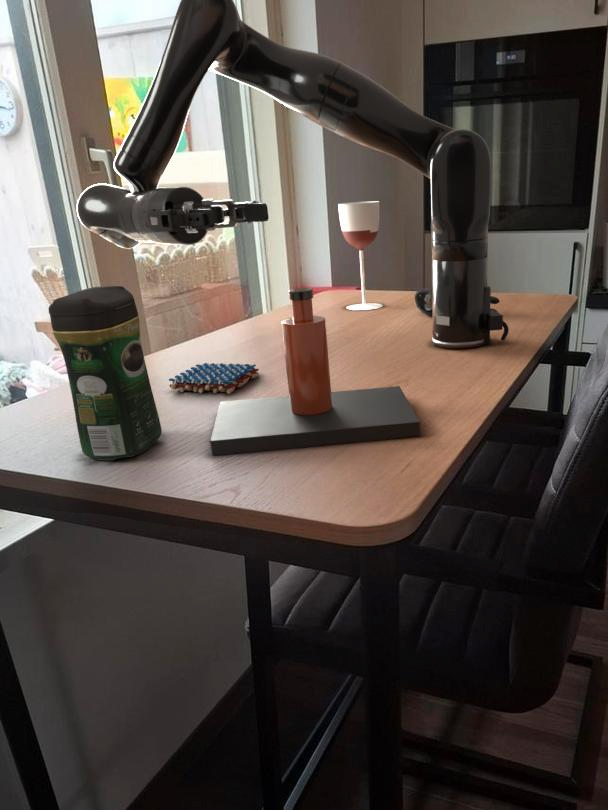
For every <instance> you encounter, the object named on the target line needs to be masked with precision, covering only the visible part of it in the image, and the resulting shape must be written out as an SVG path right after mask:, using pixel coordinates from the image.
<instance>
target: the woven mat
mask: <svg viewBox="0 0 608 810" xmlns="http://www.w3.org/2000/svg"><path fill="white" fill-rule="evenodd" d="M256 366H257V365H256V364H255V363H254V364H249V363H245V364H244V363H231V362H230V363H228V364H227V363H223V362H220V363H214V362H212V363H209V362H204V363H202V364H199V363H197V364H196V365H195V366H191V367H190V369H186V370H185V372H180V373H179V375H178V374H177V375H174V377H173V378H172V377H171V378H168V381H169V382H171V383H170V384H169V388H170V389H171V390H179V392H180V393H183V392H184V391H188V392H189V391H190V392H191V391H192V392H194V393H196V392H198V393H200V394H202V393H204V392H205V391H207V392H209V391H212V392H213V394H216V393H219V392H221V393H226V394H228V395H231V394H232V392H234V391H235V389H237V388H241V387H242V386H244V385H245V384H247V383H248V381H249V380H250V379H252V380H253V379H255V378H256V377H258V376H259V374H260V372H259V368H256Z"/></svg>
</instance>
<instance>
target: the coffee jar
mask: <svg viewBox="0 0 608 810" xmlns="http://www.w3.org/2000/svg"><path fill="white" fill-rule="evenodd" d="M48 314H49V318H50V325H51V329H52V334H53V337H54V339H55V340H56V342H57V344H58V346H59V348H60V351H61V353H62V356H63V360H64V363H65V368H66V373H67V378H68V383H69V387H70V388H69V389H70V392H71V393H70V394H71V398H72V403H73V409H74V416H75V422H76V429H77V433H78V438H79V443H80V447H81V452H82V454H83V455H85V456H86V457H89V458H92V459H95V460H98V461H116V460H117V459H122V458H131V457H136V456H138V455H139V454H141V453H143V452H144V451H146V450H147V449H148V448H150V447H151V446H153V444H155V443H156V442H157V441H158V440H159V439H160V437H161V436H162V432H163V429H162V425H161V420H160V416H159V411H158V409H157V408H158V407H157V405H156V401H155V397H154V393H153V389H152V385H151V381H150V377H149V372H148V369H147V363H146V360H145V356H144V350H143V345H142V339H141V328H140V327H141V326H140V316H139V312H138V307H137V304H136V302H135V297H134V295H133V293H131V292H130V291H129V290H128V289H127V288H125V287H124V286H122V285H105V286H104V285H103V286H101V285H100V286H92V287H88V288H85V289H81V290H78V291H76V292H71V293H70V294H67V295H64V296H61V297H58V298H55V299H54V300H53V301H52V303H51V304H50V305H49V306H48Z"/></svg>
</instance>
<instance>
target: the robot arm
mask: <svg viewBox="0 0 608 810" xmlns="http://www.w3.org/2000/svg"><path fill="white" fill-rule="evenodd" d="M157 67H158V68H157V69H156V72H155V75H154V77H153V80H152V82H151V85H150V86H149V89H148V92H147V94H146V96H145V98H144V101H143V103H142V105H141V107H140V109H139V111H138V112H137V115H136V117H135V119H134V121H133V123H132V125H131V126H130V129H129V130H128V133H127V134H126V136H125V138H124V140H123V142H122V144H121V146H120V148H119V150H118V152H117V154H116V156H115V158H114V161H113V169H114V171H115V172H116V174H118V175H119V176H120V177H121V179H123V180H124V181H125V182H126V183H127V185H128V186H129V189H128V188H124V187H121V186H117V185H113V184H109V183H108V184H107V183H97V184H93V185H91V186H89V187H87V188H86V189H85V190H83V192H82V193H81V194H80V196H79V198H78V199H77V203H76V213H77V217H78V219H79V221H80V223H81V224H82V225H83V226H84V227H85V228H86V229H88V230H89V231H91V232H92V233H94V234H96V235H98V236H100V237H102V238H103V239H105V240H107V241H108V242H110V243H112V244H114V245H116V246H117V247H120V248H122V249H125V250H131V249H134V248H136V247H137V246H138V245H140V244H141V243H156V244H160V245H173V246H174V245H175V246H192V245H195V244H198V243H200V242H201V241H202V240H203V239H204V238H205V237H206V235H207V234H208V232H209V231H210V232H211V231H216V230H218V229H225V228H227V229H228V228H235V227H237V226H238V224H242V223H244V224H245V223H247V224H251V223H260V222H261V223H263V222H264V223H265V222H268V221H269V217H270V216H269V209H268V205H267V204H266V202H260V201H257V200H252V201H235V200H234V199H223V200H215V199H214V198H210V199H209V198H207V199H205V198H204V197H203V196H202V195H201V194H200V193H199V192H198V191H197V190H196V189H194V188H191V187H187V186H173V187H158V186H159V184H160V182H161V180H162V178H163V177H164V175H165V173H166V171H167V169H168V167H169V165H170V163H171V161H172V159H173V157H174V155H175V153H176V151H177V148H178V147H179V143H180V141H181V138H182V136H183V132H184V129H185V125H186V122H187V118H188V115H189V113H190V110H191V106H192V103H193V101H194V99H195V96H196V93H197V91H198V89H199V87H200V85H201V83H202V82H203V80H204V78H205V76H206V75H207V73H208V71H209V72H213V73H215V74H218V75H221V76H224V77H226V78H227V79H228V78H229V79H231V80H234V81H236V82H239V83H241V84H243V85H247V86H249V87H251V88H254V89H256V90H258V91H260V92H262V93H264V94H265V95H267V96H269V97H271V98H273V99H274V100H276V101H277V102H279V103H280V104H283V105H284V106H285V107H287V108H288V109H290V110H292V111H294V112H295V113H297V114H299V115H301V116H303V117H304V118H306V119H308V120H309V121H311V122H313V123H314V124H316V125H319V126H320V127H322V128H323V129H325V130H328V131H330V132H331V133H334V134H335V135H338V136H340V137H342V138H344V139H347V140H349V141H351V142H353V143H356V144H359V145H361V146H363V147H366V148H368V149H371V150H374V151H377V152H380V153H384V154H386V155H389V156H391V157H393V158H396V159H397V160H399V161H400V162H402V163H405V164H407V165H408V166H410V167H411V168H413V169H414V170H415V171H417V172H419V173H420V174H422V175H423V176H425V177H426V178H428V179H429V180H430V233H431V234H430V239H431V241H430V243H431V245H430V247H431V249H430V250H431V289H432V314H433V315H432V338H431V340H432V341H431V342H432V345H434V346H435V347H439V348H443V349H470V348H476V347H480V346H483V345H490V343H491V332H493V331H502V330H503V333H502V335H501V337H500V340H501V341H506V339H507V337H508V335H509V325H508V323H507V322H505V320H503V319H504V315H503V314H501V313H500V312H498V310H496V309H495V310H496V311H495V310H490V308H491V303H490V298H491V296H492V295H491V294H492V293H491V292H492V291H491V286H490V285H488V258H489V257H488V246H489V244H488V242H489V238H488V237H489V223H490V217H491V188H492V186H491V185H492V158H491V157H492V156H491V152H490V149H489V146H488V144H487V141H486V140H485V139H484V137H482V135H480V133H477V132H475V131H473V130H471V129H466V128H465V129H464V128H461V129H460V128H458V129H457V128H454V127H451V126H448V125H446V124H443V123H441V122H438V121H436V120H434V119H431V118H429V117H427V116H426V115H423V114H421V113H419V112H417V111H416V110H414V109H412V107H410V106H409V105H407V104H406V103H404V102H403V101H402V100H401V99H399V97H397V96H396V95H394V94H393V93H392V92H391V91H389V90H388V89H386V88H385V87H383V86H382V85H381V84H380V83H378V82H376V81H375V80H373V79H371V78H370V77H369V76H367V75H365V74H364V73H362V72H360V71H358V70H356V69H355V68H353V67H352V66H349V65H347V64H345V63H344V62H342V61H339V60H338V59H336V58H332V57H330V56H329V55H328V56H327V55H325V54H321V53H318V52H313V51H308V50H303V49H297V48H293V47H288V46H285V45H282V44H281V43H278V42H276V41H274V40H272V39H270V38H269V37H267V36H266V35H264V34H262V33H261V32H259V31H257V30H256V29H255V28H253V27H251V26H249V24H247V23H246V22H244V21H243V20H242V19H241V16H240V13H239V11H238V8H237V5H236V3H235V1H234V0H180V2H179V4H178V7H177V10H176V13H175V16H174V19H173V22H172V25H171V29H170V32H169V35H168V39H167V42H166V45H165V48H164V51H163V53H162V56H161V59H160V62H159V64H158V66H157ZM223 206H226V207H227V208H225V209H224V208H223ZM225 217H228V220H229V221H228V222H225Z"/></svg>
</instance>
